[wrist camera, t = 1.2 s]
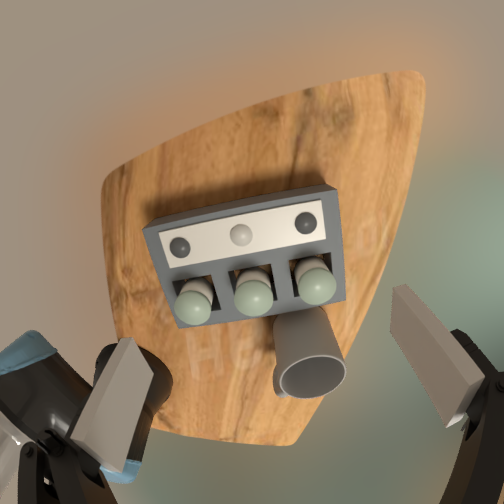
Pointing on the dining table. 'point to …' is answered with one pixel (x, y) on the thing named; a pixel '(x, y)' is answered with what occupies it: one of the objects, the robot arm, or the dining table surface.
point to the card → (244, 234)
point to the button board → (251, 254)
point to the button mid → (253, 292)
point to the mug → (306, 355)
